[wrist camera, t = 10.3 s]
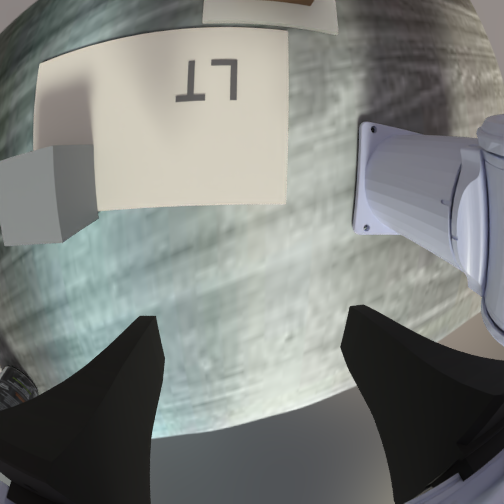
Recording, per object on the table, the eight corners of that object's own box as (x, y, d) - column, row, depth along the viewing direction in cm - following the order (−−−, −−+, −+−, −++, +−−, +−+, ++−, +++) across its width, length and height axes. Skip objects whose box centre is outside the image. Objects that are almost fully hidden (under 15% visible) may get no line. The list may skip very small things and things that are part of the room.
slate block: (93, 144, 14) (52, 145, 10) (98, 218, 16) (62, 242, 12) (38, 156, 14) (-6, 163, 9) (44, 223, 16) (4, 246, 11)
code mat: (286, 32, 13) (288, 30, 13) (284, 203, 18) (286, 204, 17) (41, 64, 11) (39, 63, 11) (41, 216, 16) (38, 217, 15)
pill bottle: (-2, 363, 20) (-39, 421, 10) (21, 365, 20) (-18, 433, 10) (21, 396, 22) (-7, 454, 12) (47, 400, 23) (19, 467, 12)
